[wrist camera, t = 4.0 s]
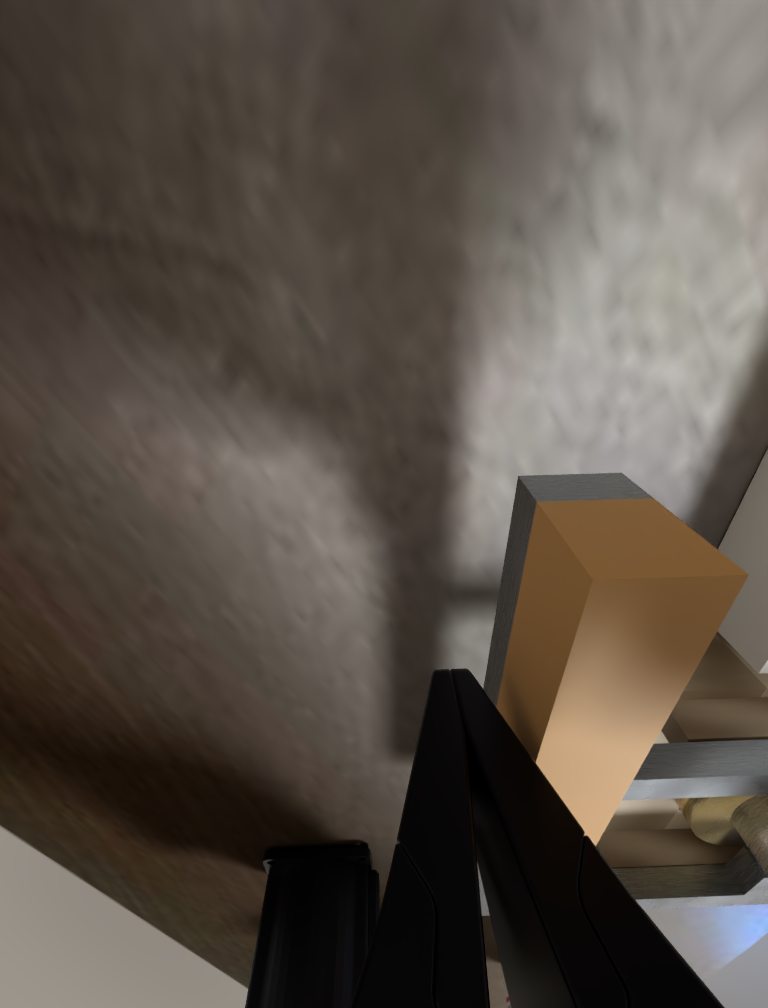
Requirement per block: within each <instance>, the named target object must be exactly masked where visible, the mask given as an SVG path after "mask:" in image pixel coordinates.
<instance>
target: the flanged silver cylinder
mask: <svg viewBox="0 0 768 1008" xmlns="http://www.w3.org/2000/svg"><path fill="white" fill-rule="evenodd" d="M675 800H676V803H677V805H678V806H679V808H680V810H681V812H682V813H683V815H684V817H685V819H686V820H687V822H688V824H689V826H690V827H691V829H692V831H693V832H694V834H695V835H696V836H697V837H698V838H700V839H702V840H704V841H706V842H709V843H712V844H716V845H722V846H734V847H744V846H748V848H749V849H750V851H751V852H752V854H753V856H754V857H755V859H756V860H757V862H758V863H759V865H760V866H761V868H762V869H763V871H764V872H765V874H766V875H767V877H768V795H752V796H726V797H701V798H675Z"/></svg>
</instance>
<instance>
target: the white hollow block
mask: <svg viewBox="0 0 768 1008" xmlns="http://www.w3.org/2000/svg"><path fill="white" fill-rule="evenodd" d="M718 550H719V551H720V552H721V553H723V554H724V555H725V556H726V557H728V558H729V559H730V560H731V561H733V562H734V563H735V564H736V565H738V566H739V567H740V568H741V569H743V570H744V571H745V572H746V573H748V574H749V576H748V578H747V579H746V581H745V583H744V585H743V587H742V588H741V590H740V592H739V594H738V595H737V597H736V599H735V601H734V602H733V604H732V606H731V608H730V610H729V611H728V613H727V615H726V617H725V618H724V620H723V622H722V624H721V625H720V627H719V629H718V632H719V633H720V634H721V635H722V636H723V637H724V638H725V639H726V640H727V641H728V643H729V644H730V645H731V646H732V647H733V648H734V649H735V650H736V651H737V652H738V653H739V654H740V655H741V656H742V657H743V658H744V659H745V660H746V661H747V662H748V663H749V664H750V665H751V666H752V667H753V668H754V669H755V670H756V671H757V673H758V674H759V673H768V449H767V451H766V453H765V455H764V457H763V459H762V461H761V463H760V465H759V467H758V469H757V471H756V473H755V475H754V477H753V479H752V481H751V483H750V485H749V488H748V490H747V492H746V494H745V496H744V498H743V500H742V502H741V504H740V506H739V508H738V510H737V512H736V514H735V516H734V518H733V520H732V522H731V524H730V526H729V528H728V530H727V532H726V534H725V536H724V538H723V540H722V542H721V544H720V546H719V548H718Z"/></svg>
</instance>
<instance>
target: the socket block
mask: <svg viewBox="0 0 768 1008" xmlns="http://www.w3.org/2000/svg"><path fill="white" fill-rule="evenodd" d="M765 739H768V673H759V674H758V673H757V671H756V670H755V669H754V668H753V667H752V666H751V665H750V664H749V663H748V662H747V661H746V660H745V659H744V658H743V657H742V656H741V655H740V654H739V653H738V652H737V651H736V650H735V649H734V648H733V647H732V646H731V645H730V644H729V643H728V641H727V640H726V639H725V638H724V637H723V636H722V635H721V634H720V633H719V632H718V631H717V633H716V634H715V636H714V638H713V640H712V641H711V643H710V645H709V647H708V649H707V650H706V652H705V654H704V656H703V657H702V659H701V661H700V663H699V664H698V666H697V668H696V670H695V672H694V673H693V675H692V677H691V679H690V680H689V682H688V684H687V686H686V687H685V689H684V691H683V693H682V695H681V696H680V698H679V700H678V702H677V703H676V705H675V707H674V709H673V710H672V712H671V714H670V716H669V718H668V719H667V721H666V723H665V725H664V726H663V728H662V730H661V732H660V733H659V735H658V737H657V739H656V741H655V742H654V744H658V743H685V742H711V741H738V740H765ZM596 848H597V849H598V850H599V852H600V853H601V855H602V856H603V857H604V859H605V860H606V862H607V863H608V864H609V866H610V867H611V868H612V869H622V868H647V867H672V866H696V865H721V864H727V863H728V862H729V861H730V860H731V859H732V858H733V857H734V856H735V855H736V854H737V853H738V852H739V851H740V850H741V849H742V848H743V847H734V846H722V845H716V844H712V843H709V842H706V841H704V840H702V839H700V838H698V837H697V836H696V835H695V834H694V832H693V831H692V829H691V827H690V826H689V824H688V822H687V820H686V819H685V817H684V815H683V813H682V812H681V810H680V808H679V806H678V805H677V803H676V800H675V799H649V800H623V801H621V803H620V804H619V806H618V808H617V810H616V811H615V813H614V815H613V817H612V818H611V820H610V822H609V824H608V826H607V827H606V829H605V831H604V833H603V834H602V836H601V838H600V840H599V842H598V843H597V845H596Z"/></svg>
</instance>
